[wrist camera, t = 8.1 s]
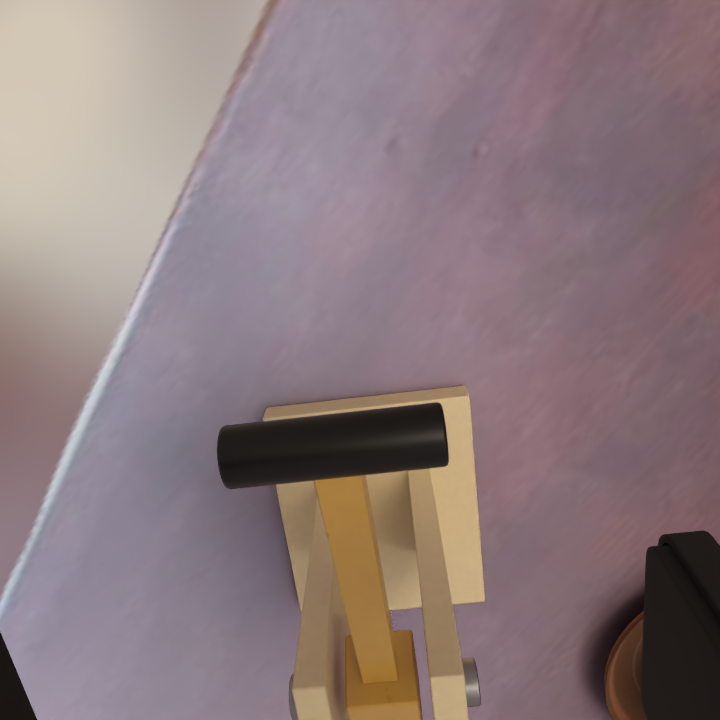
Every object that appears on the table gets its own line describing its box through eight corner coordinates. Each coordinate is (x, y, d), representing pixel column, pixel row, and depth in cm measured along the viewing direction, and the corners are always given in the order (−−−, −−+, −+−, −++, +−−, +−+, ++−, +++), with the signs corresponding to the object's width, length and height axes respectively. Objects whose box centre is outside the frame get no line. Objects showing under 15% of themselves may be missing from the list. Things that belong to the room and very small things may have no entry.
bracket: (265, 407, 30) (198, 605, 18) (465, 384, 30) (531, 574, 18) (303, 602, 34) (269, 871, 22) (481, 585, 34) (543, 851, 22)
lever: (225, 399, 16) (208, 474, 14) (437, 375, 16) (450, 449, 14) (316, 681, 24) (313, 754, 22) (458, 669, 23) (469, 741, 21)
